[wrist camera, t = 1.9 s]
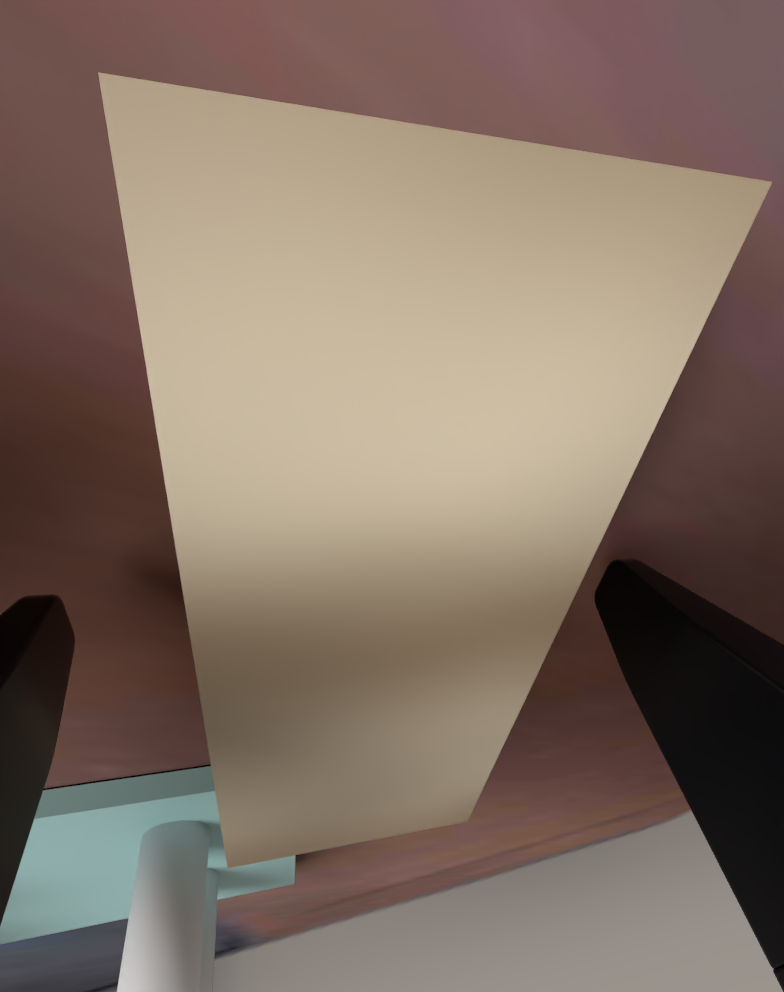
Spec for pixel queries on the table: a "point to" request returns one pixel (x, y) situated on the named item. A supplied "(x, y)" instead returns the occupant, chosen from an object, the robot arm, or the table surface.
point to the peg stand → (136, 874)
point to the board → (391, 426)
